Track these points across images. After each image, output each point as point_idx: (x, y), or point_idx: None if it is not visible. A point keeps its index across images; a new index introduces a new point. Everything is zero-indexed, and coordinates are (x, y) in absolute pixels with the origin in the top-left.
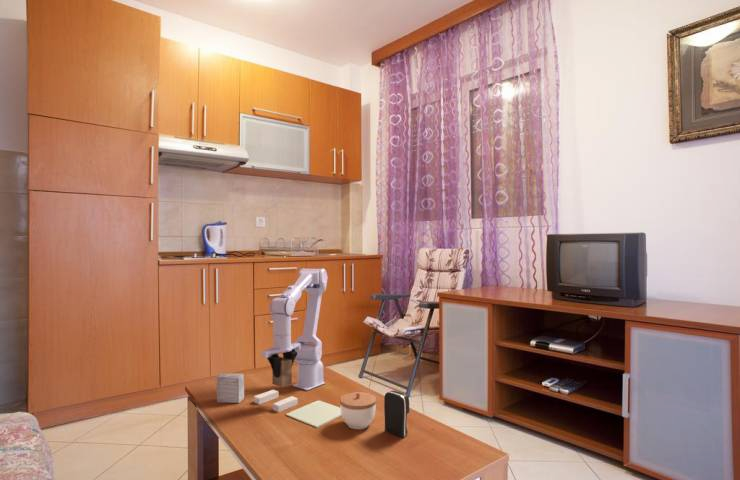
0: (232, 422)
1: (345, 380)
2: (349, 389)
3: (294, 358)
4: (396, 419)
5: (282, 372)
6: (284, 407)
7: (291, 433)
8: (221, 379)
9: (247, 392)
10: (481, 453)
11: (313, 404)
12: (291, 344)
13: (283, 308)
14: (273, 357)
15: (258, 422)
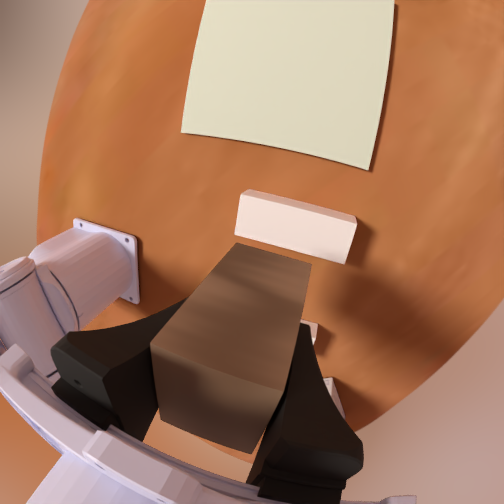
0: (463, 311)
1: (41, 181)
2: (70, 119)
3: (111, 331)
4: None
5: (295, 319)
6: (323, 210)
7: (471, 70)
8: None
9: None
10: None
11: (226, 118)
12: (45, 437)
13: None
14: (337, 483)
15: (453, 235)
